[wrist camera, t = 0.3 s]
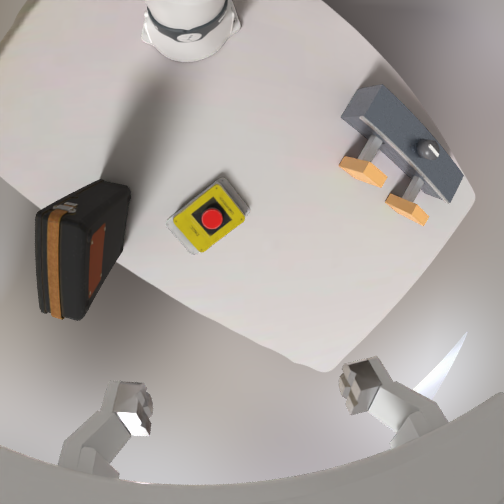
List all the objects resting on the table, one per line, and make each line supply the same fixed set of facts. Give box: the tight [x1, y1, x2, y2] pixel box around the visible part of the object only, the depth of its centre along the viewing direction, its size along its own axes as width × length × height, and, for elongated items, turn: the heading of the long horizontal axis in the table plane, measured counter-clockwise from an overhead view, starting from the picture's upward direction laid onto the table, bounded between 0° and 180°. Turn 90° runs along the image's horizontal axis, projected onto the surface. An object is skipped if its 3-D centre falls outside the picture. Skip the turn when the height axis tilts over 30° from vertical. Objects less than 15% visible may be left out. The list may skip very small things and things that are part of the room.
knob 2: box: [385, 176, 429, 226], centre depth 54 cm, size 14×5×10 cm, turn 149°
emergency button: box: [166, 177, 250, 255], centre depth 54 cm, size 9×4×15 cm
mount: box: [341, 84, 464, 204], centre depth 51 cm, size 8×30×10 cm, turn 59°
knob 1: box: [339, 135, 387, 188], centre depth 50 cm, size 14×5×10 cm, turn 149°
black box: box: [35, 179, 131, 321], centre depth 41 cm, size 16×9×25 cm, turn 164°
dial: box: [417, 139, 440, 160], centre depth 45 cm, size 4×4×3 cm
